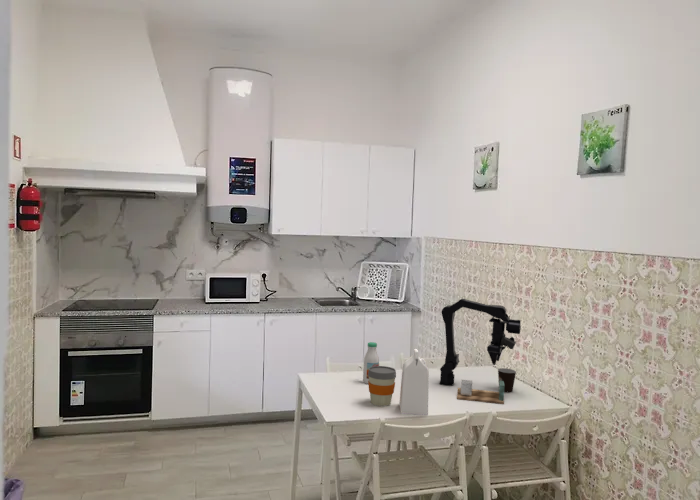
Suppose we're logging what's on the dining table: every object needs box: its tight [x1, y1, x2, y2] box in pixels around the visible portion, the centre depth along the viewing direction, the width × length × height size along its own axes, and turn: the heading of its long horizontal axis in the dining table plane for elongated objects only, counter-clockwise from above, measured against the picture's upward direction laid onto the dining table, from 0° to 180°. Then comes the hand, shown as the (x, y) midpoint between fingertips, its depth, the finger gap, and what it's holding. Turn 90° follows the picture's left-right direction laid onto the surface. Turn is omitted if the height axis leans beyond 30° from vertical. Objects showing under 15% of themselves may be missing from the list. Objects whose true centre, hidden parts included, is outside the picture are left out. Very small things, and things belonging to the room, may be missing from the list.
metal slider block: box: [460, 379, 473, 396], centre depth 266 cm, size 5×6×6 cm
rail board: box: [456, 380, 505, 405], centre depth 265 cm, size 21×12×8 cm, turn 78°
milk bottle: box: [362, 341, 380, 385], centre depth 282 cm, size 8×8×20 cm
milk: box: [398, 348, 430, 416], centre depth 244 cm, size 12×12×26 cm
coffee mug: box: [497, 367, 517, 393], centre depth 280 cm, size 12×9×10 cm
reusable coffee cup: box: [367, 365, 397, 407], centre depth 252 cm, size 13×12×15 cm
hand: (495, 362), depth 277 cm, fingers open, 9 cm apart
